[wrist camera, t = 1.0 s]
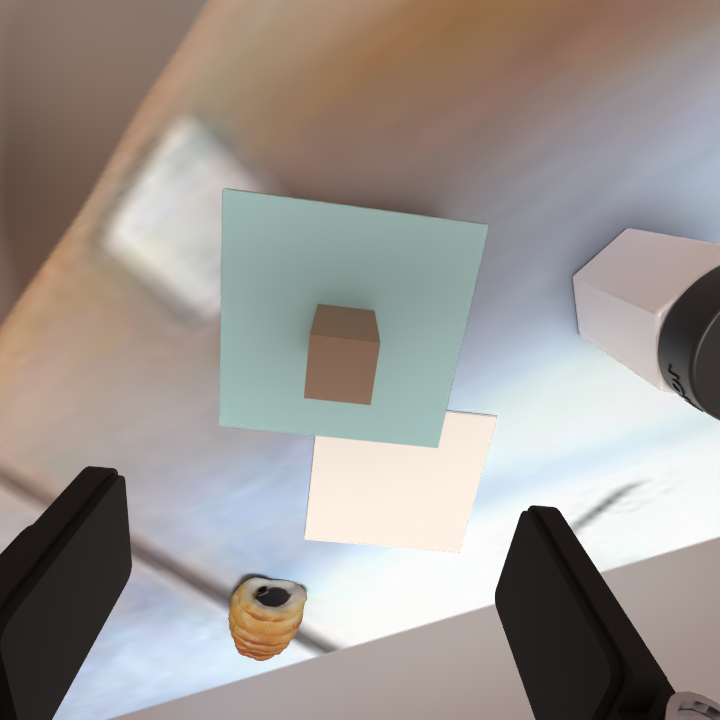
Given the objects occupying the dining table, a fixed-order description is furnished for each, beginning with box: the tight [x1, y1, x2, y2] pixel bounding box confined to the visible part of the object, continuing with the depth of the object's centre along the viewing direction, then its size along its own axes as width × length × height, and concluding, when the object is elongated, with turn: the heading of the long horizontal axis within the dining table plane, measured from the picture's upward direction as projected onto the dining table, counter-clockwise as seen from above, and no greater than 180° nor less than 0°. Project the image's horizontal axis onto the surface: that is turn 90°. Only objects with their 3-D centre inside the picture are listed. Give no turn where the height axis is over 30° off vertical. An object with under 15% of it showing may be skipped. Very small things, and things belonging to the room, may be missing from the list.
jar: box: [573, 228, 720, 420], centre depth 26 cm, size 9×8×12 cm
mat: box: [304, 410, 497, 553], centre depth 37 cm, size 14×14×1 cm
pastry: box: [228, 577, 307, 661], centre depth 41 cm, size 9×7×4 cm
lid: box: [219, 189, 489, 448], centre depth 23 cm, size 13×13×8 cm
